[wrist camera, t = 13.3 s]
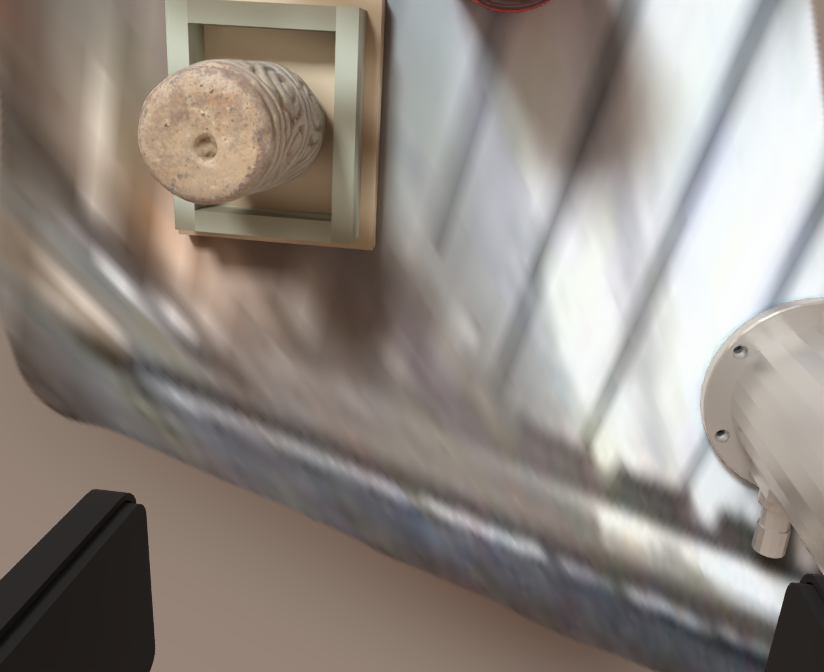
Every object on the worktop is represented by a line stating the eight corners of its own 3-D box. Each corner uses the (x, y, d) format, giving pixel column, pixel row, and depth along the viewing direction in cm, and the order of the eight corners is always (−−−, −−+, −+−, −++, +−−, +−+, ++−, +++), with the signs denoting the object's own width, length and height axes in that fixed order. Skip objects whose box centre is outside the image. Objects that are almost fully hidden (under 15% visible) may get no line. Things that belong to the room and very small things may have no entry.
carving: (361, 118, 43) (308, 134, 32) (273, 209, 46) (196, 254, 34) (280, 32, 42) (197, 18, 31) (195, 129, 45) (89, 149, 33)
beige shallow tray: (374, 246, 47) (365, 259, 44) (186, 230, 48) (162, 241, 45) (385, -3, 42) (375, -9, 39) (176, -14, 43) (149, -21, 40)
